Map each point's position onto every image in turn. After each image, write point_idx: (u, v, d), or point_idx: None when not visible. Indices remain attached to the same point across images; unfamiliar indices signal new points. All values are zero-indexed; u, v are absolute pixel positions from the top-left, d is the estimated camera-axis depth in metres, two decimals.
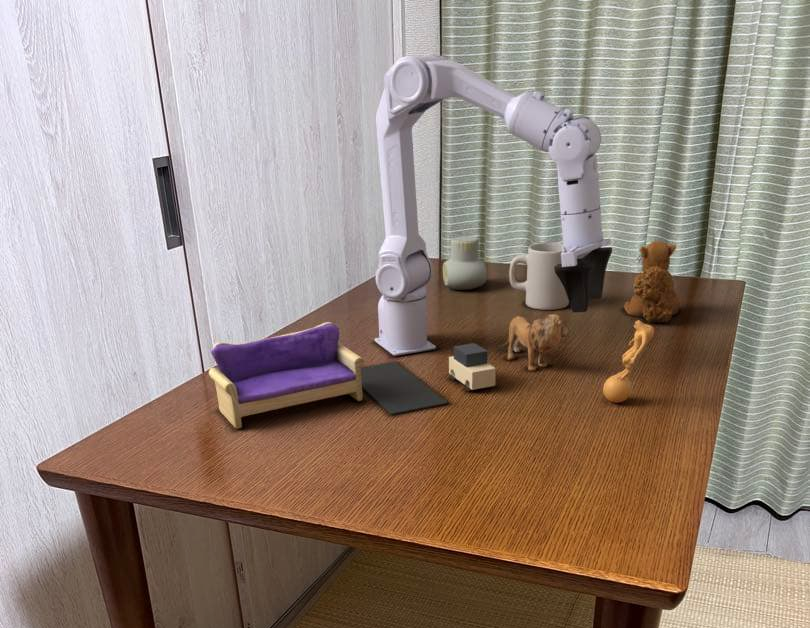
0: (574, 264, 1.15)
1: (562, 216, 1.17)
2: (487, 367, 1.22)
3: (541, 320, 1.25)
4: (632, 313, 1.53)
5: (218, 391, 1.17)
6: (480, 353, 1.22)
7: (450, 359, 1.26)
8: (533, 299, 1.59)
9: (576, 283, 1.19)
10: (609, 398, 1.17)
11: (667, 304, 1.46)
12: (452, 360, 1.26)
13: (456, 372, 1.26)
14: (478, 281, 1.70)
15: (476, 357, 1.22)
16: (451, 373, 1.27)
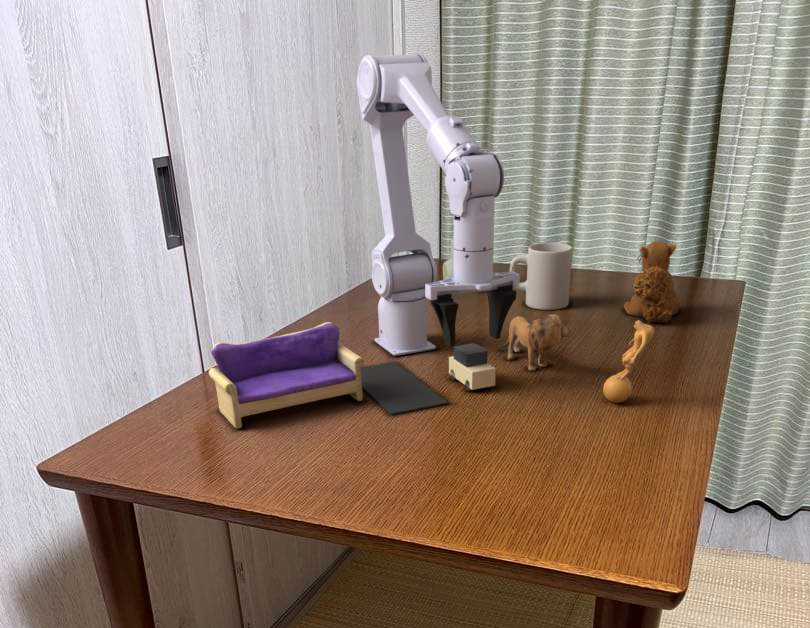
0: (430, 298, 1.16)
1: None
2: (487, 367, 1.22)
3: (541, 320, 1.25)
4: (632, 313, 1.53)
5: (218, 391, 1.17)
6: (480, 353, 1.22)
7: (450, 359, 1.26)
8: (533, 299, 1.59)
9: None
10: (609, 398, 1.17)
11: (667, 304, 1.46)
12: (452, 360, 1.26)
13: (456, 372, 1.26)
14: None
15: (476, 357, 1.22)
16: (451, 373, 1.27)
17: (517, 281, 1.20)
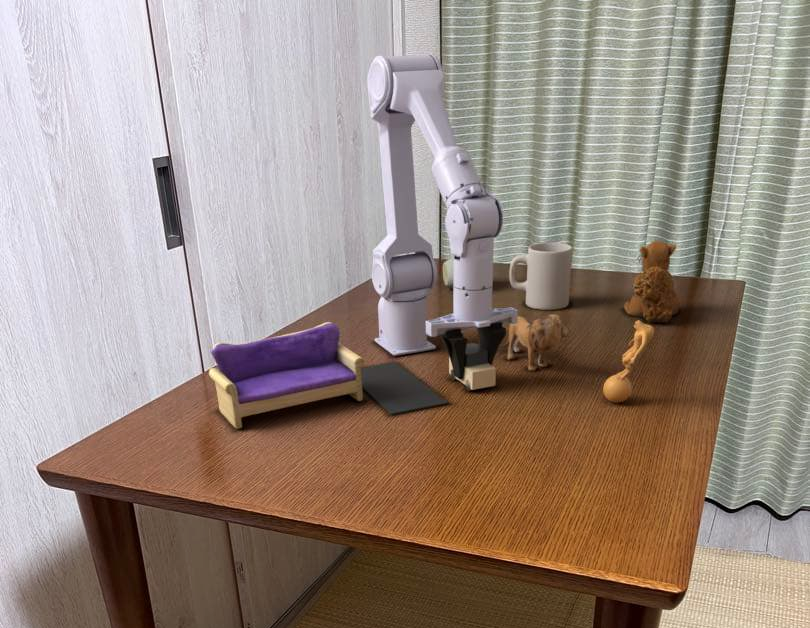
0: (431, 335, 1.18)
1: None
2: (488, 367, 1.22)
3: (541, 320, 1.25)
4: (632, 313, 1.53)
5: (218, 391, 1.17)
6: (480, 353, 1.22)
7: None
8: (533, 299, 1.59)
9: None
10: (609, 398, 1.17)
11: (667, 304, 1.46)
12: None
13: None
14: None
15: (476, 357, 1.22)
16: (451, 373, 1.27)
17: (515, 317, 1.22)
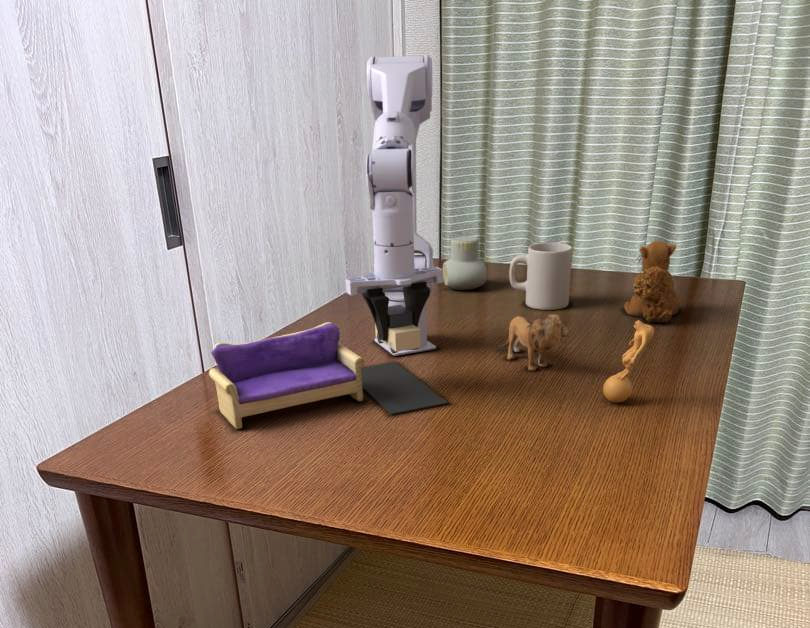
0: (350, 294, 1.14)
1: None
2: (412, 328, 1.18)
3: (541, 320, 1.25)
4: (632, 313, 1.53)
5: (218, 391, 1.17)
6: (404, 314, 1.18)
7: None
8: (533, 299, 1.59)
9: None
10: (609, 398, 1.17)
11: (667, 304, 1.46)
12: None
13: None
14: (478, 281, 1.70)
15: (400, 318, 1.18)
16: (377, 336, 1.23)
17: (441, 276, 1.19)
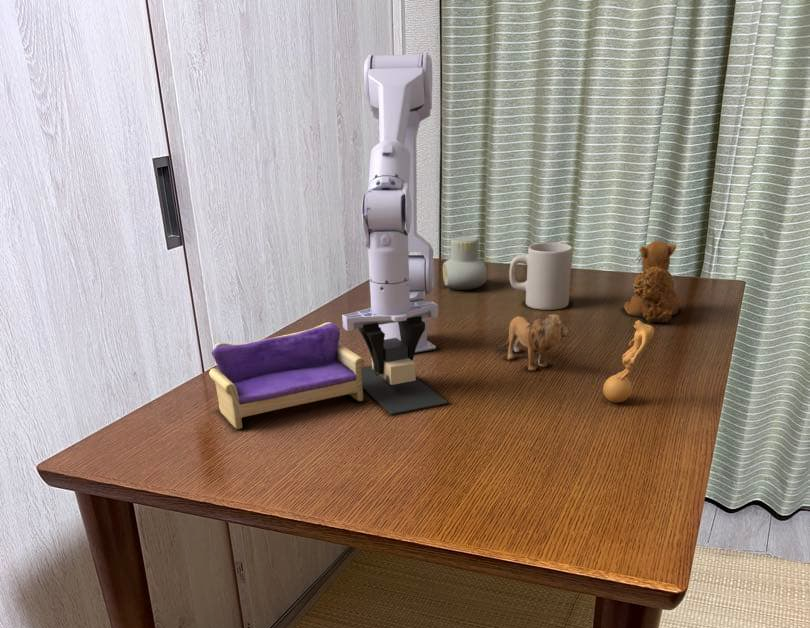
0: (347, 329, 1.17)
1: None
2: (407, 361, 1.21)
3: (541, 320, 1.25)
4: (632, 313, 1.53)
5: (218, 392, 1.17)
6: (400, 348, 1.21)
7: None
8: (533, 299, 1.59)
9: None
10: (609, 398, 1.17)
11: (667, 304, 1.46)
12: None
13: None
14: (478, 281, 1.70)
15: (395, 352, 1.21)
16: (374, 368, 1.26)
17: (435, 311, 1.21)
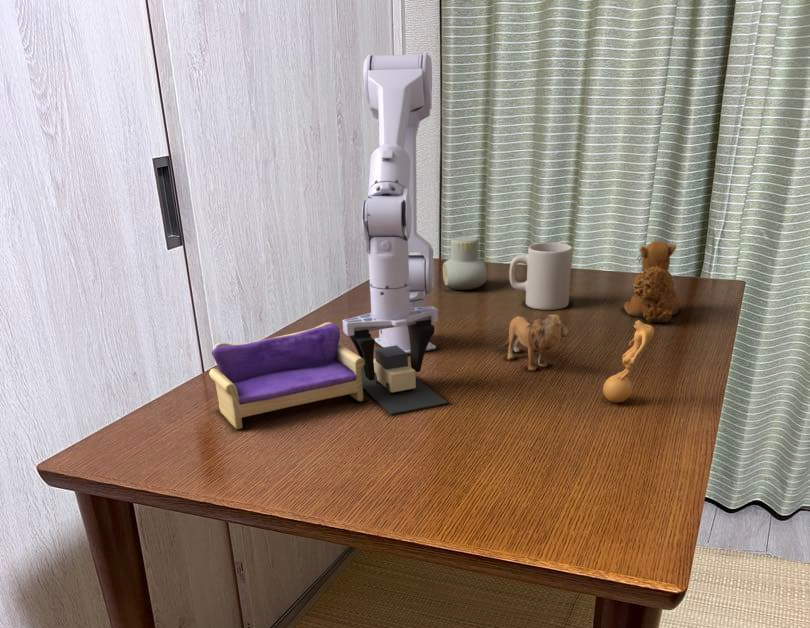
0: (347, 334, 1.17)
1: None
2: (407, 369, 1.22)
3: (541, 320, 1.25)
4: (632, 313, 1.53)
5: (218, 392, 1.17)
6: (400, 355, 1.21)
7: None
8: (533, 299, 1.59)
9: None
10: (609, 398, 1.17)
11: (667, 304, 1.46)
12: (374, 363, 1.25)
13: (378, 374, 1.25)
14: (478, 281, 1.70)
15: (395, 360, 1.21)
16: None
17: (435, 316, 1.22)
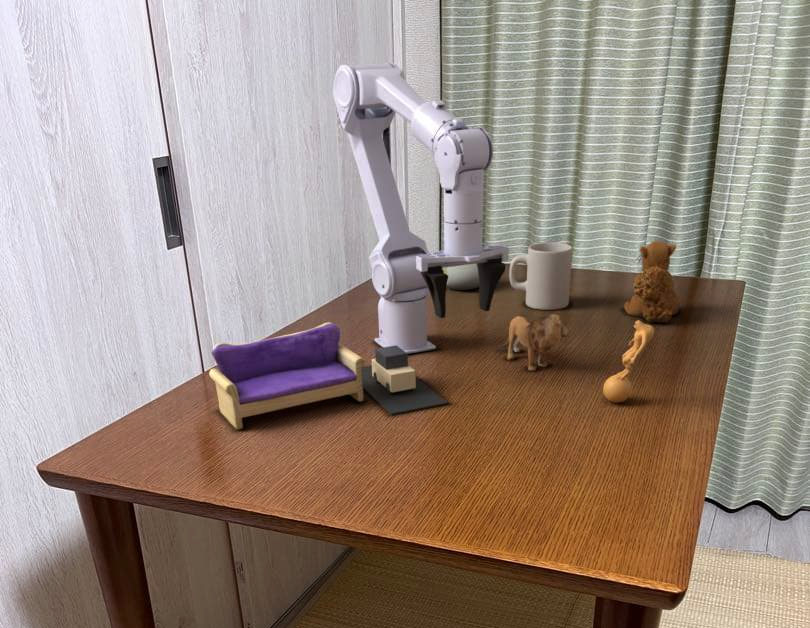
0: (421, 270, 1.19)
1: None
2: (407, 369, 1.22)
3: (541, 320, 1.25)
4: (632, 313, 1.53)
5: (219, 392, 1.17)
6: (400, 355, 1.21)
7: (372, 361, 1.26)
8: (533, 299, 1.59)
9: None
10: (609, 398, 1.17)
11: (667, 304, 1.46)
12: (374, 363, 1.25)
13: (378, 374, 1.25)
14: (478, 281, 1.70)
15: (395, 360, 1.21)
16: (374, 375, 1.27)
17: (506, 254, 1.23)
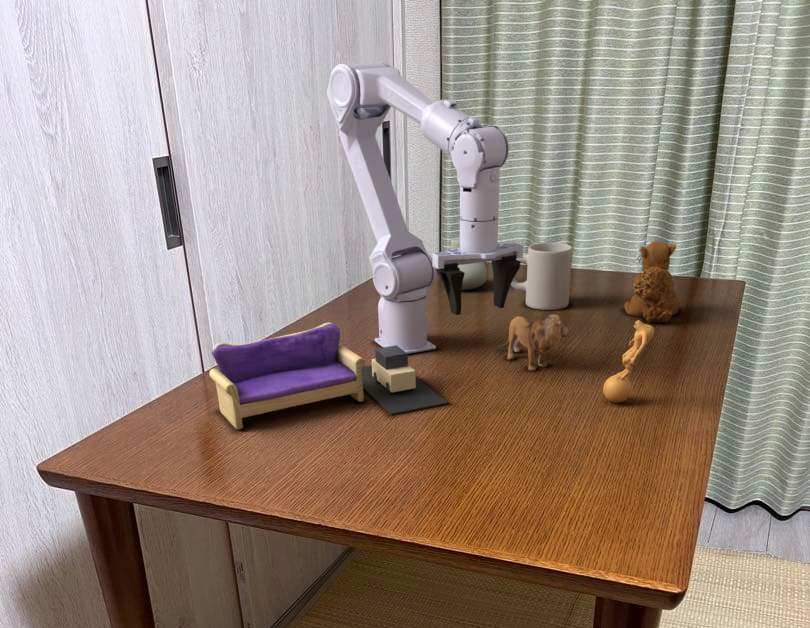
0: (437, 267, 1.20)
1: (461, 218, 1.21)
2: (407, 369, 1.22)
3: (541, 320, 1.25)
4: (632, 313, 1.53)
5: (219, 392, 1.17)
6: (400, 355, 1.21)
7: (372, 361, 1.26)
8: (533, 299, 1.59)
9: None
10: (609, 398, 1.17)
11: (667, 304, 1.46)
12: (374, 363, 1.25)
13: (378, 374, 1.25)
14: (478, 281, 1.70)
15: (395, 360, 1.21)
16: (374, 375, 1.27)
17: (521, 251, 1.24)
